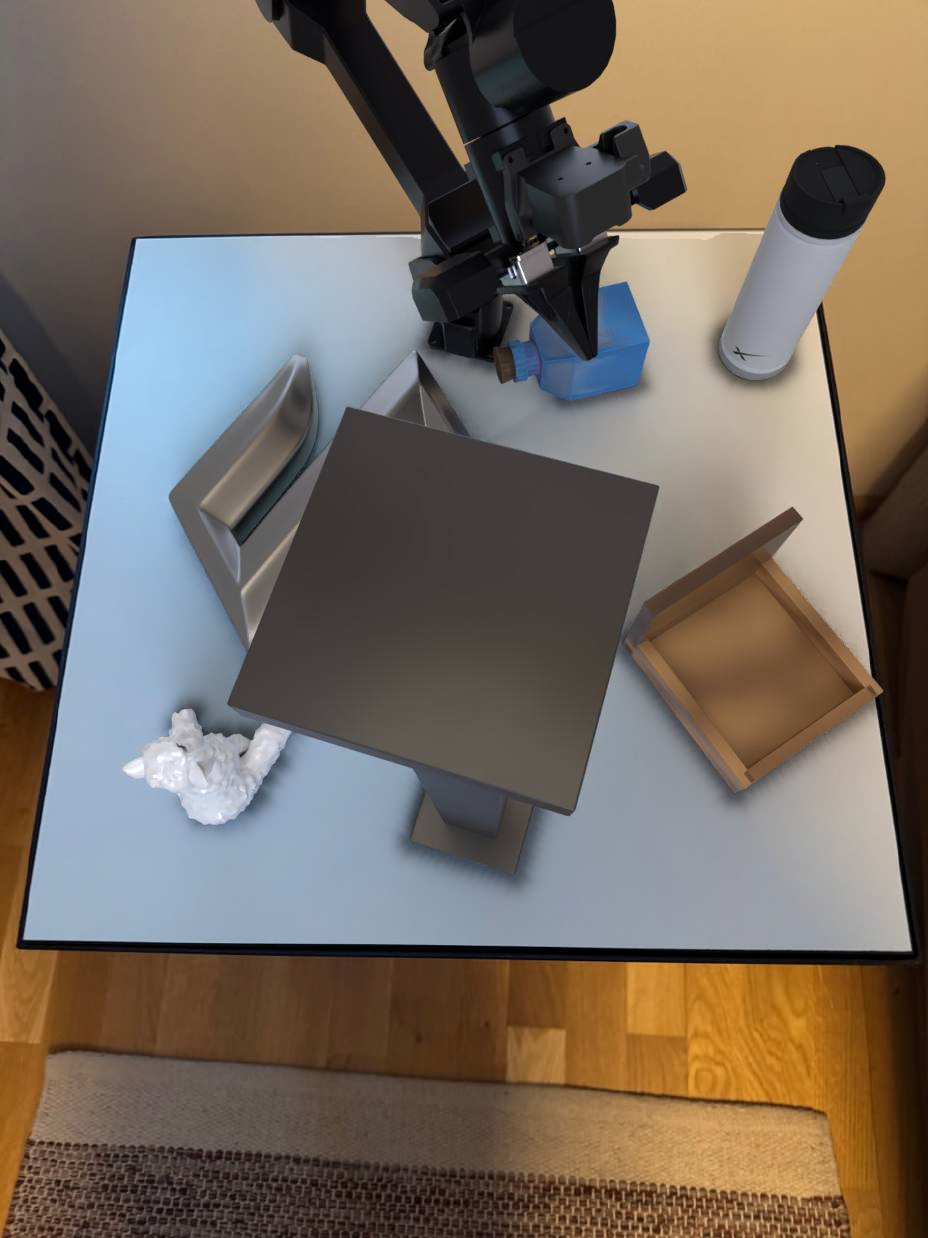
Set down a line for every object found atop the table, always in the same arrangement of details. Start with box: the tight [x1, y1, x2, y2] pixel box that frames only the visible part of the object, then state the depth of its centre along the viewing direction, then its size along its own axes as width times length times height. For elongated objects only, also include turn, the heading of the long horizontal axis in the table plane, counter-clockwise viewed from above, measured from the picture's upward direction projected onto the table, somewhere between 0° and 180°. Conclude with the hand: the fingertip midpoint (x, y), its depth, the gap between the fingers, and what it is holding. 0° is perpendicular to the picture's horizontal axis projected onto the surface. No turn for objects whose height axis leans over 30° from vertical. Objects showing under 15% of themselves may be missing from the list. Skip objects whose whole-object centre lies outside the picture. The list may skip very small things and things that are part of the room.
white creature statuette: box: [122, 708, 293, 826], centre depth 59 cm, size 10×9×12 cm
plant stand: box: [226, 405, 660, 876], centre depth 41 cm, size 8×8×46 cm
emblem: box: [168, 349, 472, 653], centre depth 68 cm, size 28×5×28 cm
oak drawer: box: [622, 506, 884, 794], centre depth 61 cm, size 14×13×10 cm
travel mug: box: [718, 144, 887, 381], centre depth 65 cm, size 6×7×20 cm
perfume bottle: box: [492, 280, 651, 402], centre depth 72 cm, size 6×6×12 cm
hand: (590, 358), depth 59 cm, fingers closed
